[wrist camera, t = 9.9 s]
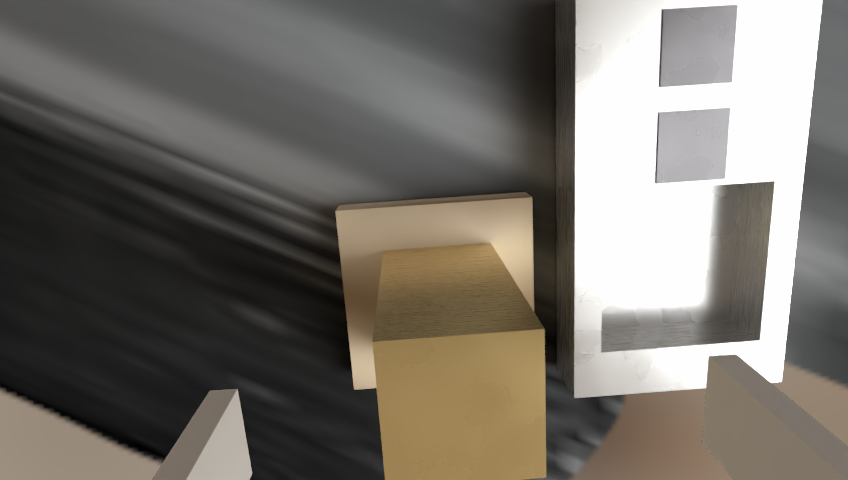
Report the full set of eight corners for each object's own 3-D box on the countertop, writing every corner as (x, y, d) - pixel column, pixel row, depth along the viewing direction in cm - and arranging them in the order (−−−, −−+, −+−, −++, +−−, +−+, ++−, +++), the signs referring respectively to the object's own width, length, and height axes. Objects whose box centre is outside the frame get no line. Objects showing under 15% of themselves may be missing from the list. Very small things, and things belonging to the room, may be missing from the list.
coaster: (338, 204, 27) (335, 210, 25) (525, 191, 27) (532, 197, 25) (356, 375, 29) (354, 389, 27) (528, 361, 29) (535, 375, 27)
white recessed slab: (555, 1, 25) (576, -13, 22) (775, -13, 25) (826, -29, 22) (556, 368, 29) (574, 399, 26) (744, 354, 29) (782, 382, 26)
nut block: (383, 250, 26) (372, 341, 16) (491, 243, 26) (544, 328, 16) (391, 349, 27) (386, 490, 17) (494, 341, 27) (546, 477, 17)
